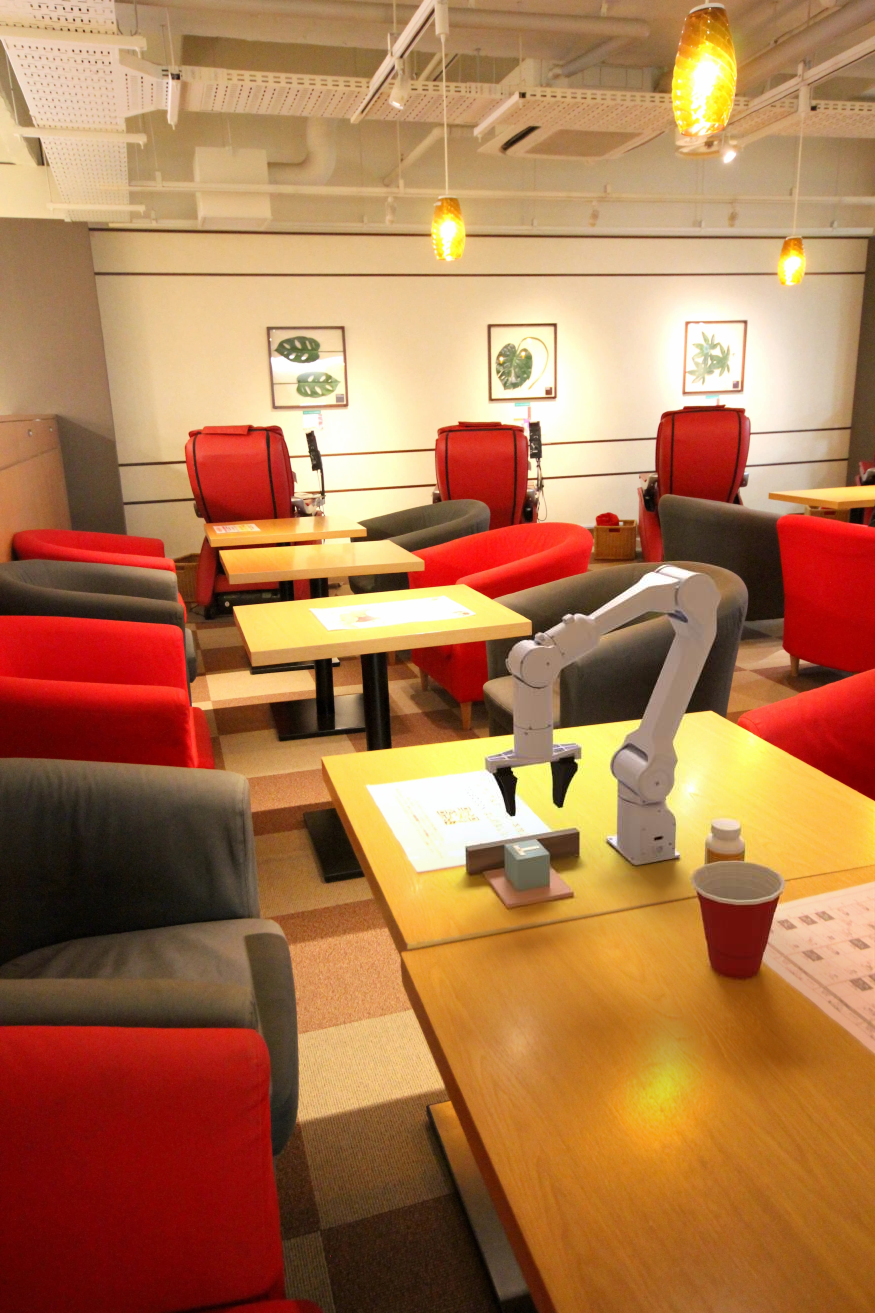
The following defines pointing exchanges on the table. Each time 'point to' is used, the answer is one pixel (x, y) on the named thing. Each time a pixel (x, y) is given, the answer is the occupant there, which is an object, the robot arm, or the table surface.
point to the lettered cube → (527, 865)
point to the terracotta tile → (527, 896)
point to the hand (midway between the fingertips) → (534, 809)
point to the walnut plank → (493, 852)
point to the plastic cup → (737, 913)
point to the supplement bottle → (724, 842)
